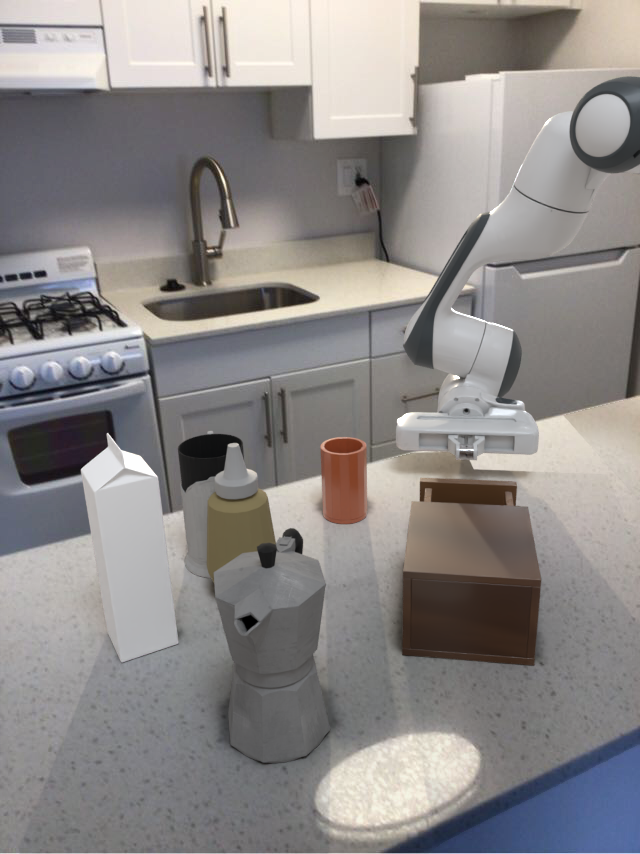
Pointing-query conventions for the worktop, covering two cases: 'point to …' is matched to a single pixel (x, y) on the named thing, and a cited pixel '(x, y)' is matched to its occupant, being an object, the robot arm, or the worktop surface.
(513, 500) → the drawer
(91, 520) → the milk
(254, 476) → the squeeze bottle
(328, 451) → the cup
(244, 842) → the worktop surface
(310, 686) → the coffeepot
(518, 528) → the cabinet
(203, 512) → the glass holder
